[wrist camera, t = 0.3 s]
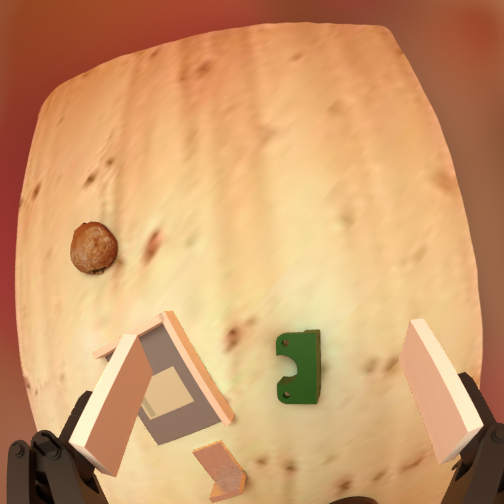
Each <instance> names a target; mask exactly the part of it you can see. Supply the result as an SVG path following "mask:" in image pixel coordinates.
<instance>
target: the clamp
mask: <svg viewBox="0 0 504 504" xmlns="http://www.w3.org/2000/svg"><path fill="white" fill-rule="evenodd" d="M284 340H287V341H288V342H289V345H288V346H287V345H285V344H284ZM277 355H286V356H289V357H290V358H292V359H293V360H294V361H295V363H296V365H297V368H298V372H297V375H295V376H292V377H285V376H284V377H283V378H282V379H281V380H280V381H279V382H278V383H277V396H278V399H279V400H280V401H281V402H282V403H285V404H317V401H318V399H319V396H320V389H321V353H320V330H306V331H304V332H296V333H284V334H282V335H280V336H279V337H278V338H277V340H276V356H277ZM285 392H288V393H289V394H290V396H287V395H285Z"/></svg>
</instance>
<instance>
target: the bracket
mask: <svg viewBox="0 0 504 504" xmlns="http://www.w3.org/2000/svg"><path fill="white" fill-rule="evenodd" d="M192 453H193V454H194V456H195V457H196V458H197V460H198V461H199V462H200V464H201V465H202V466H203V467H204V469H205V470H206V471H207V472H208V474H209V475H210V476H211V477H212V479H213V480H214V481H215V484H214V486H213V489H212V492H211V494H210V497H209V499H210V500H211V501H212V502H217V501H221V500H224V499H228V498H231V497H234V496H237V495H241V494H243V489H244V485H245V480H246V475H247V474H246V472H245V471H244V470H243V469H242V467H241V466H240V465H239V463H238V462H237V461H236V459H235V458H234V457H233V455H232V454H231V453H230V451H229V450H228V449H227V447H226V446H225V445H224V443H223V442H222V440H219V441H217V442H214V443H211V444H209V445H206V446H203V447H201V448H198V449H195V450H194V451H193V452H192Z"/></svg>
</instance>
